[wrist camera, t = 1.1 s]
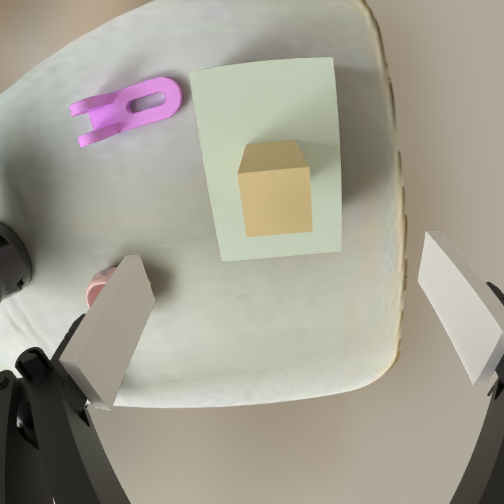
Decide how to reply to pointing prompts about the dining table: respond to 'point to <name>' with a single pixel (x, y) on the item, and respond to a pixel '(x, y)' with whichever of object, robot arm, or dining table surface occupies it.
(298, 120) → the lid
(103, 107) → the bracket
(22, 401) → the robot arm
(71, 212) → the dining table surface
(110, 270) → the mug
